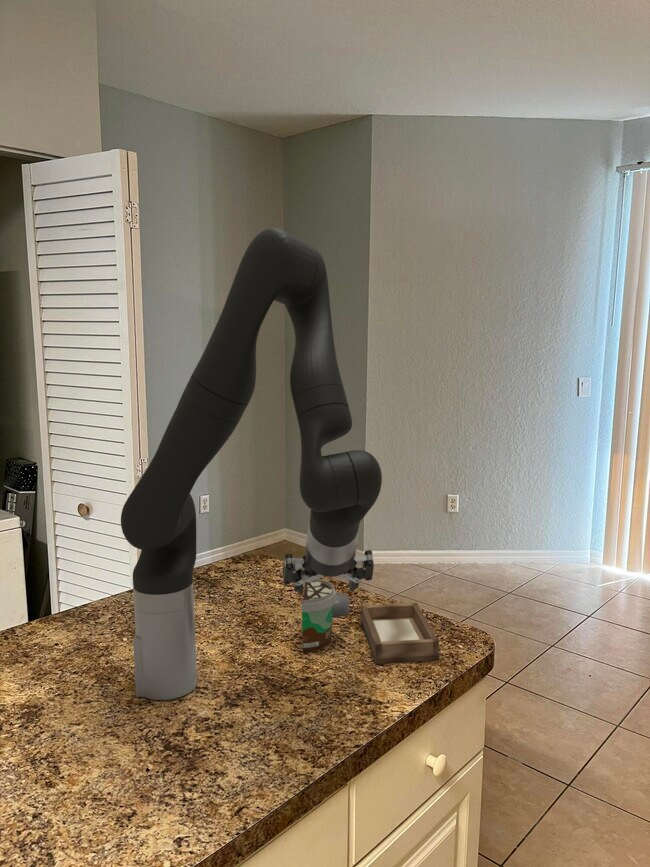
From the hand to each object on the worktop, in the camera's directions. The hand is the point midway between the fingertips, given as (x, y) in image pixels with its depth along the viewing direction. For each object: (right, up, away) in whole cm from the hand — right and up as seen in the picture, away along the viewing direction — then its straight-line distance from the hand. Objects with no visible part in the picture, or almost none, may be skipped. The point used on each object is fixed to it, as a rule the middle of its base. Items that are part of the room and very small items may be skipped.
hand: (325, 587), depth 115 cm
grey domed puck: (+2, -11, +26) cm, 28 cm away
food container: (-1, -13, +13) cm, 18 cm away
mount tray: (+13, -12, +12) cm, 22 cm away
